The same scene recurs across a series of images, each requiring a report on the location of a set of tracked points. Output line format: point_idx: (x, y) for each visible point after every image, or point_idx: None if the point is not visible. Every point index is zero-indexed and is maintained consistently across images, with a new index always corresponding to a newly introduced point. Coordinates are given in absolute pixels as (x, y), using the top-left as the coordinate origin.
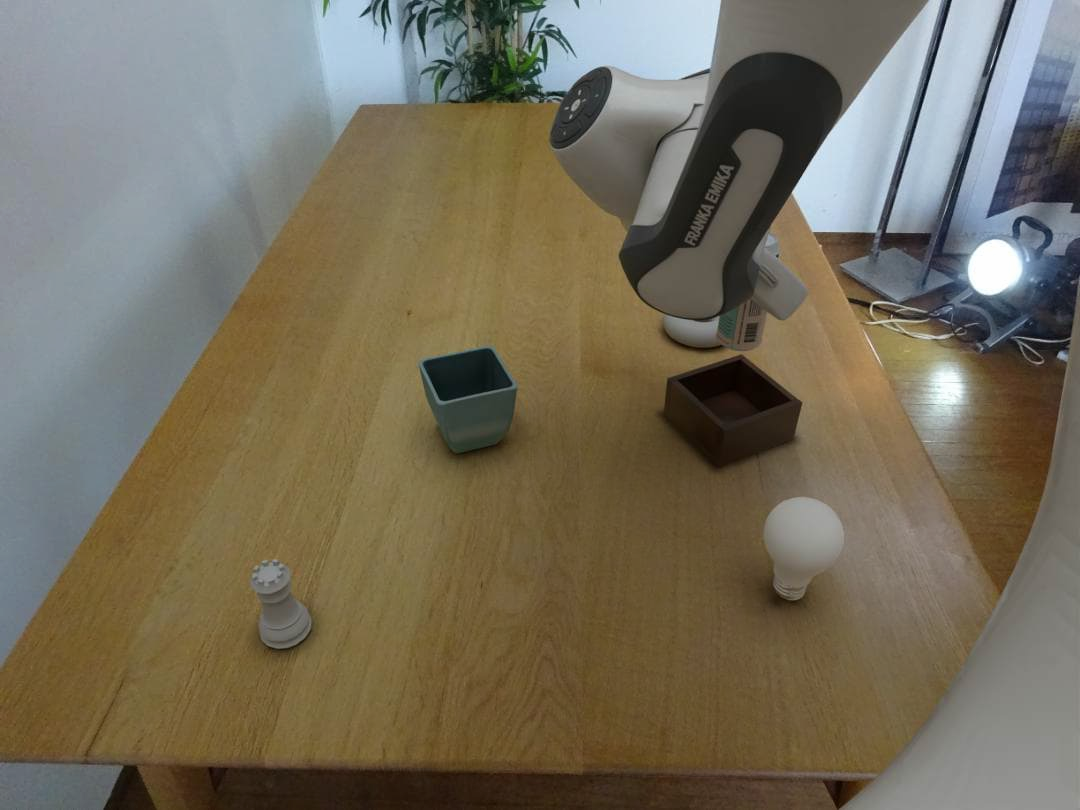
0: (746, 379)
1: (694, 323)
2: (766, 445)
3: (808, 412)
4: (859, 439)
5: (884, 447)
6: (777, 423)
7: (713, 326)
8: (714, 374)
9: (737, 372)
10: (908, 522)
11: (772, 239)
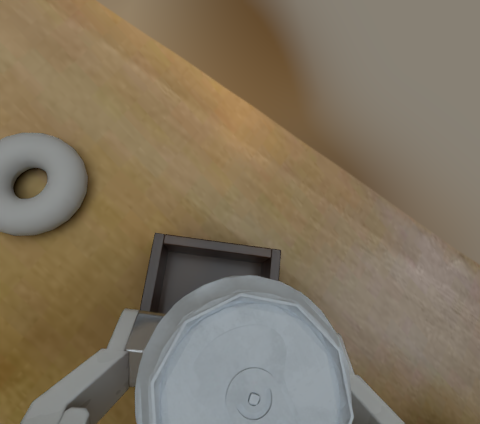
0: (183, 249)
1: (36, 208)
2: None
3: (244, 207)
4: (304, 200)
5: (326, 190)
6: None
7: (62, 191)
8: (156, 289)
9: (165, 248)
10: (410, 261)
11: (297, 330)
